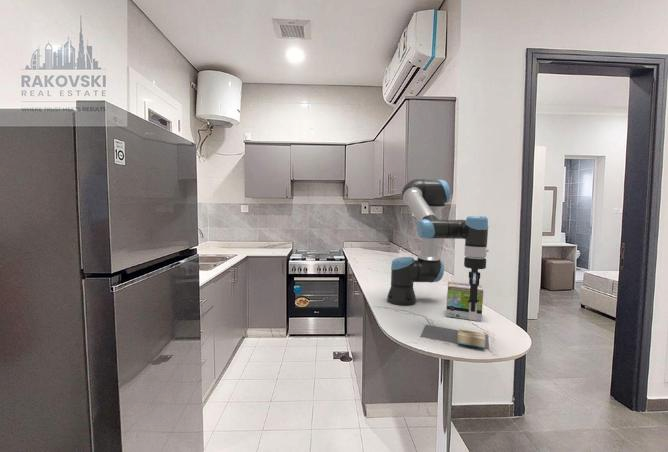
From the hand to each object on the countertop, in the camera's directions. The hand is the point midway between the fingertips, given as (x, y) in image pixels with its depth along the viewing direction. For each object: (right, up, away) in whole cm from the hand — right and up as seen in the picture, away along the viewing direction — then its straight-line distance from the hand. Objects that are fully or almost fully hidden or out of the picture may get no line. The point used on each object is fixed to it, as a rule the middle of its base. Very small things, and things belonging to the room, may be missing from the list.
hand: (472, 319), depth 120 cm
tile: (0, -6, +1) cm, 7 cm away
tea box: (+8, -7, +28) cm, 30 cm away
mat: (-6, -8, +4) cm, 10 cm away
